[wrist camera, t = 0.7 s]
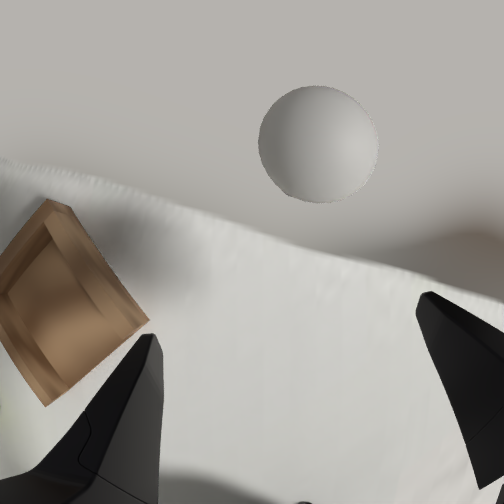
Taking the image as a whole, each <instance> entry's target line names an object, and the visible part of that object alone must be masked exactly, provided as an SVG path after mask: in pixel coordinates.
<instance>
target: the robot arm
mask: <svg viewBox="0 0 504 504" xmlns="http://www.w3.org/2000/svg"><path fill="white" fill-rule="evenodd" d="M416 318H417V320H418V323H419V326H420V329H421V331H422V334H423V337H424V340H425V343H426V346H427V348H428V351H429V353H430V356H431V358H432V360H433V363H434V365H435V367H436V369H437V372H438V374H439V376H440V379H441V381H442V383H443V386H444V388H445V391H446V393H447V396H448V398H449V401H450V403H451V406H452V408H453V411H454V413H455V416H456V419H457V422H458V424H459V427H460V430H461V433H462V436H463V439H464V441H465V444H466V448H467V451H468V454H469V457H470V460H471V464H472V467H473V470H474V474H475V477H476V481H477V485H478V488H479V490H480V489H482V488H484V487H486V486H487V485H489V484H491V483H492V482H494V481H496V480H497V479H499V478H500V477H502V476H504V333H503V332H502V331H500V330H498V329H497V328H495V327H493V326H492V325H490V324H488V323H487V322H485V321H483V320H482V319H480V318H478V317H476V316H475V315H473V314H471V313H470V312H468V311H466V310H464V309H463V308H461V307H459V306H457V305H456V304H454V303H452V302H450V301H449V300H447V299H445V298H443V297H442V296H440V295H438V294H436V293H434V292H432V291H429V292H425V293H422V294H421V296H420V299H419V302H418V305H417V308H416ZM163 403H164V380H163V352H162V349H161V346H160V344H159V342H158V339H157V337H156V335H155V334H153V333H151V334H142V335H141V336H140V337H139V339H138V340H137V341H136V343H135V344H134V345H133V346H132V348H131V349H130V350H129V352H128V353H127V354H126V355H125V357H124V358H123V359H122V361H121V362H120V363H119V365H118V366H117V367H116V368H115V370H114V371H113V372H112V374H111V375H110V376H109V378H108V379H107V380H106V382H105V383H104V384H103V385H102V387H101V388H100V389H99V391H98V392H97V393H96V395H95V396H94V397H93V399H92V400H91V401H90V403H89V404H88V406H87V407H86V408H85V411H83V412H82V413H81V415H80V416H79V418H78V419H77V420H76V421H75V423H74V424H73V425H72V427H71V428H70V429H69V430H68V432H67V433H66V434H65V435H64V436H63V437H62V439H61V440H60V441H59V442H58V443H57V444H56V445H55V446H54V448H53V449H52V450H51V451H50V452H49V453H48V454H47V455H46V456H45V458H44V459H43V460H42V461H41V462H40V463H39V464H38V465H37V466H36V467H34V468H33V469H32V470H30V471H28V472H26V473H23V474H20V475H16V476H13V477H9V478H6V479H2V480H0V504H158V482H159V460H160V442H161V428H162V415H163ZM308 504H311V503H308ZM496 504H504V484H503V485H502V487H501V490H500V493H499V496H498V499H497V502H496Z"/></svg>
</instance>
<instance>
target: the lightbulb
mask: <svg viewBox="0 0 504 504" xmlns="http://www.w3.org/2000/svg"><path fill="white" fill-rule="evenodd" d="M258 144H259V154H260V157H261V161H262V164H263V166H264V168H265V169H266V171H267V173H268V175H269V176H270V178H271V179H272V180H273V182H274V183H275V184H276V185H277V186H278V187H279V188H280V189H281V190H282V191H283V192H284V193H285V194H287V195H288V196H291V197H294V198H297V199H300V200H302V201H306V202H312V203H332V202H336V201H340V200H343V199H345V198H347V197H349V196H351V195H352V194H354V193H355V192H356V191H358V190H359V189H360V188H362V187H363V185H364V184H365V183H366V182H367V180H368V179H369V177H370V175H371V174H372V172H373V170H374V168H375V165H376V161H377V156H378V137H377V132H376V129H375V126H374V124H373V122H372V119H371V118H370V116H369V114H368V113H367V111H366V110H365V109H364V108H363V107H362V105H361V104H360V103H359V102H357V101H356V100H355V99H354V98H352V97H351V96H349V95H348V94H346V93H344V92H342V91H340V90H337V89H334V88H330V87H325V86H308V87H301V88H298V89H296V90H292V91H291V92H289V93H287V94H285V95H284V96H282V97H281V98H280V99H278V100H277V101H276V102H275V103H274V104H273V105H272V107H271V108H270V109H269V111H268V112H267V114H266V115H265V117H264V119H263V122H262V124H261V127H260V133H259V140H258Z"/></svg>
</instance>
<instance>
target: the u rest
mask: <svg viewBox="0 0 504 504" xmlns="http://www.w3.org/2000/svg"><path fill="white" fill-rule="evenodd" d="M148 321H149V318H148V317H147V316H146V315H145V313H144V312H143V311H142V309H141V308H140V307H139V306H138V304H137V303H136V302H135V300H134V299H133V298H132V297H131V295H130V294H129V293H128V291H127V290H126V289H125V287H124V286H123V285H122V283H121V282H120V280H119V279H118V278H117V276H116V275H115V274H114V272H113V271H112V269H111V268H110V267H109V265H108V264H107V262H106V261H105V259H104V258H103V257H102V255H101V254H100V252H99V251H98V249H97V248H96V246H95V245H94V243H93V242H92V240H91V239H90V237H89V236H88V234H87V233H86V231H85V230H84V228H83V227H82V225H81V223H80V222H79V220H78V219H77V217H76V215H75V214H74V212H73V211H72V209H71V207H69V206H66V205H63V204H60V203H57V202H55V201H52V200H49V199H46V201H45V202H44V203H43V204H42V205H41V206H40V207H39V208H38V210H37V211H36V212H35V213H34V214H33V215H32V216H31V218H30V219H29V220H28V221H27V222H26V224H25V225H24V226H23V227H22V229H21V230H20V231H19V232H18V233H17V235H16V236H15V237H14V239H13V240H12V241H11V242H10V244H9V245H8V246H7V248H6V249H5V250H4V252H3V253H2V254H1V256H0V341H1V343H2V344H3V346H4V348H5V349H6V351H7V353H8V354H9V356H10V358H11V359H12V361H13V362H14V364H15V366H16V367H17V369H18V370H19V372H20V373H21V375H22V376H23V378H24V379H25V381H26V382H27V383H28V385H29V386H30V388H31V389H32V390H33V392H34V393H35V394H36V396H37V397H38V399H39V400H40V401H41V402H42V404H43V405H44V406H45V407H46V406H48V405H49V404H51V403H52V402H53V401H55V400H56V399H58V398H59V397H60V396H62V395H63V394H65V393H66V392H67V391H68V390H69V389H71V388H72V387H73V386H74V385H75V384H76V383H77V382H79V381H80V380H81V379H82V378H83V377H84V376H85V375H87V374H88V373H89V372H90V371H91V370H92V369H94V368H95V367H96V366H97V365H98V364H99V363H100V362H102V361H103V360H104V359H105V358H106V357H107V356H109V355H110V354H111V353H112V352H113V351H114V350H116V349H117V348H118V347H119V346H120V345H121V344H123V343H124V342H125V341H126V340H127V339H128V338H130V337H131V336H132V335H133V334H134V333H135V332H137V331H138V330H139V329H140V328H141V327H142V326H144V325H145V324H146V323H147V322H148Z"/></svg>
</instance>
